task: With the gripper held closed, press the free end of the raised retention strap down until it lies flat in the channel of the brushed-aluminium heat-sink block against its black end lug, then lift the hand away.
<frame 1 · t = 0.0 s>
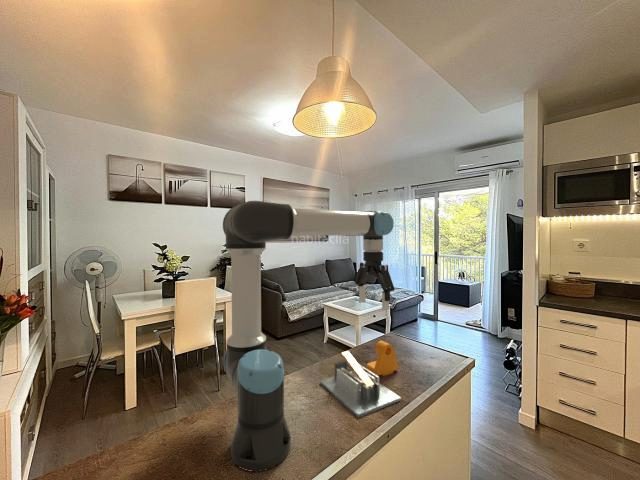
hand: (373, 305, 108), 28 cm above the counter, fingers open, 13 cm apart
strap: (357, 369, 98), point 8 cm above the counter, hinge at 22.0°
bracket: (382, 371, 114), on the counter
heatsink: (359, 392, 98), on the counter
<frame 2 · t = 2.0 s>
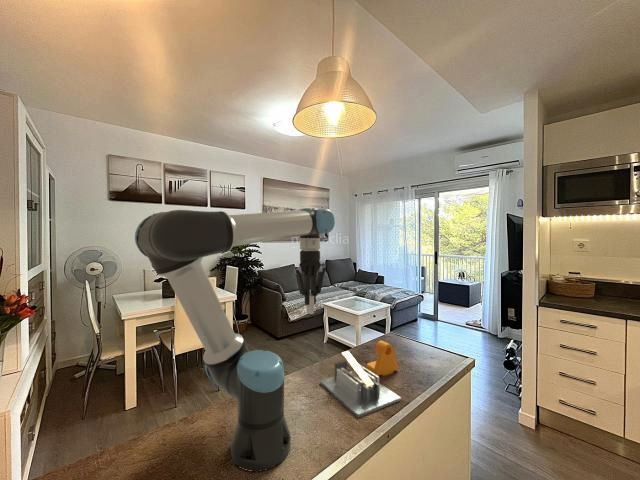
hand: (310, 312, 104), 26 cm above the counter, fingers closed
nothing on the counter moved.
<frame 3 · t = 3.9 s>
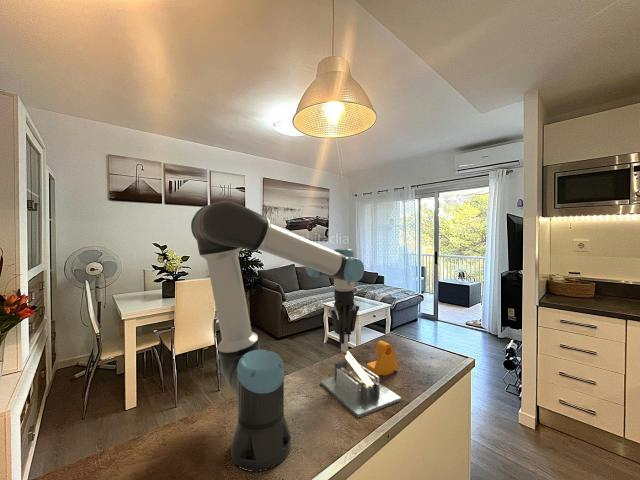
hand: (344, 350, 106), 11 cm above the counter, fingers closed
strap: (357, 369, 98), point 8 cm above the counter, hinge at 21.6°, touching gripper
everything else where it was.
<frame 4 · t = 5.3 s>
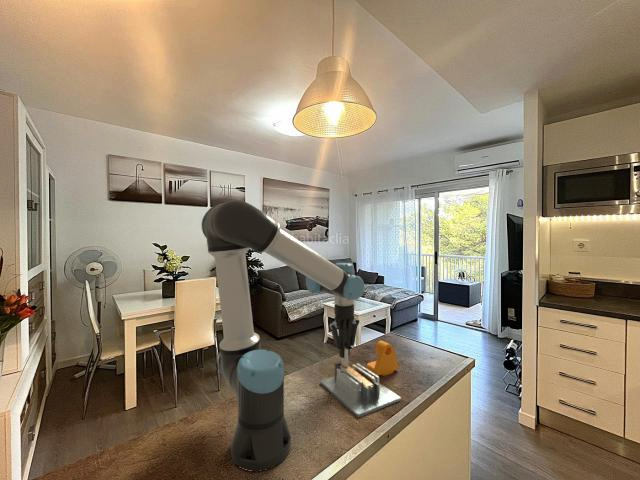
hand: (344, 365, 106), 6 cm above the counter, fingers closed
strap: (356, 376, 99), point 5 cm above the counter, hinge at 2.2°, touching gripper
everything else where it was.
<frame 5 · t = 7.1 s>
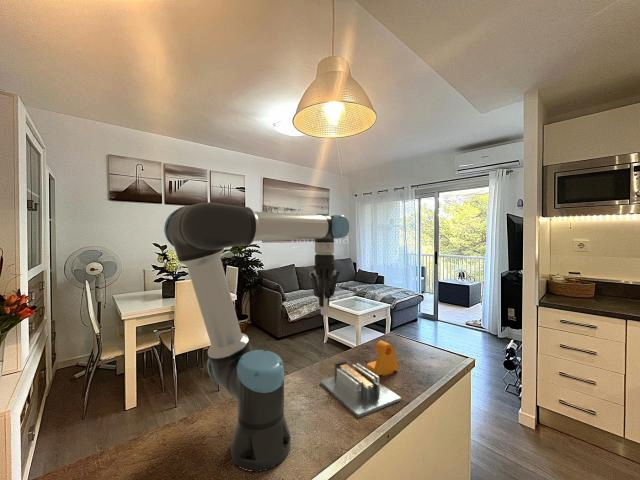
hand: (324, 314, 108), 25 cm above the counter, fingers closed
strap: (356, 376, 99), point 5 cm above the counter, hinge at 2.2°
everything else where it was.
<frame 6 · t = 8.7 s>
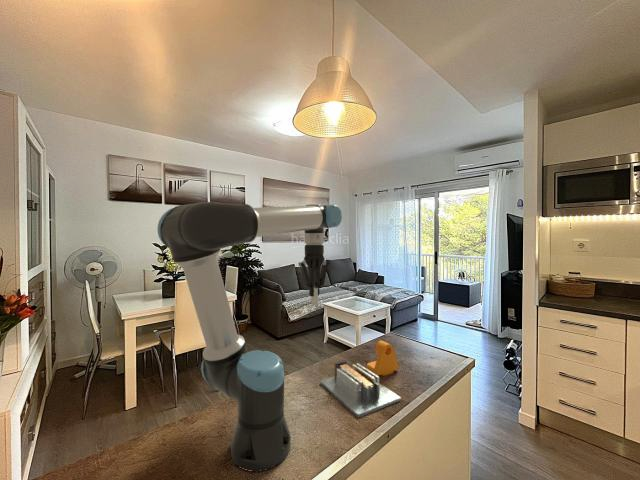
hand: (314, 304, 109), 28 cm above the counter, fingers closed
nothing on the counter moved.
at the end: strap at +2° (first picture: +22°) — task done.
